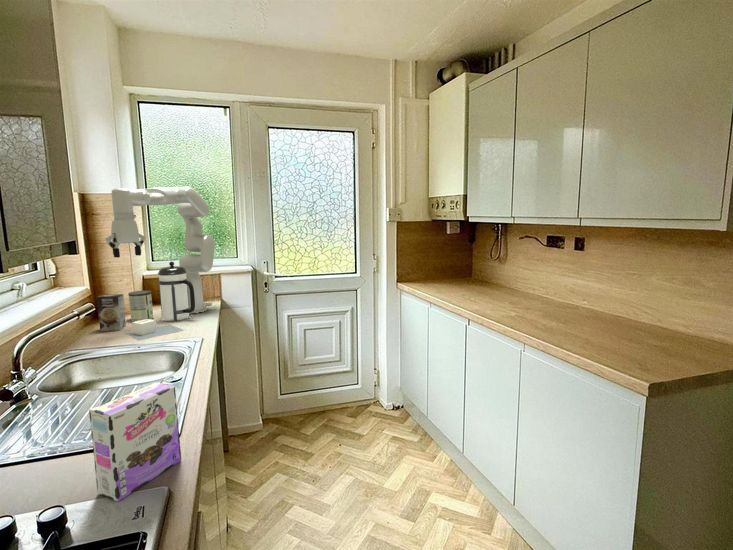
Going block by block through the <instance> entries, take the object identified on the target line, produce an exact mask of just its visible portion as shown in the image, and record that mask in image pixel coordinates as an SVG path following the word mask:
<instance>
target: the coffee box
mask: <svg viewBox="0 0 733 550" xmlns="http://www.w3.org/2000/svg"><path fill="white" fill-rule="evenodd" d="M124 297H125V296H124V293H120V294H118V293H116V294H113V293H111V294H101V295H98V296H97V297H96V301H97V313H98V314H97V315H98V321H99V323H98V324H99V331H100V332H107V331H108V332H109V330H112V331H122V330H123V329H125V328H127V321H126V311H125V310H126V309H125V300H124ZM124 327H125V328H124ZM121 329H122V330H121Z"/></svg>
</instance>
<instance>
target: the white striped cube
mask: <svg viewBox="0 0 733 550" xmlns="http://www.w3.org/2000/svg"><path fill="white" fill-rule="evenodd" d="M156 325H157V323H156V320H154V319H151V320H149V319H144V320H140V321H136V322H135V321H131V327H132V332H133V334H138V335H146V334H149V333H153V332H156V327H157V326H156Z"/></svg>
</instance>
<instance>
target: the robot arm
mask: <svg viewBox="0 0 733 550" xmlns="http://www.w3.org/2000/svg"><path fill="white" fill-rule="evenodd" d="M111 201H112V212H113V220H112V222H111V228H110V231H111V232H110V234H111V235H108V236H107V237H104V238H105V239H104V240H105V241H106V243H107V245H108V246H109V247H110V248H111V249H112V254H113V258H120V257H121V255H120V253H121V252H120V248H119V246H120V244H122V245H123V244H133V245H134V254H135V256H142V247H143V244H144V243H145V240H146V236H145V235H142V234H140V233H139V228H138V224H137V220H135V219H136V218H137V215H136V214H135V212H134V207H144V206H165V205H176V204H177V211H178V214H179V215H180V216H181V218H182V219H183V221H184V223H185V235H184V249H185V250H186V251H187V252H189V254H188V253H187V254H183V255H182V256H181V257H180V258H179V260H178V261H179V262H178V264H179V265H178V266H180V267H183V268H185V270H186V271H187V273H186V278H187V281H190V282H191V283H192V285H193V288H194V296H195V309H194V311H193V312H190V315H193V314H192V313H196V314H200V313H199V312H202V313H205V312H207V311H208V309H207V307H212V306H213V303H212V301H211V302H205V301H204V296H203V295H204V291H203V280H202V277H201V275H200V273H208V272H210V271H211V270H212V268H213V266H214V257H215V248H216V247H215V240H214V238H213V237H212V236H211V235H210V234H203V230H204V229H203V222H202V221H201V220H200V218H204V217H207V216H208V215H209V213H210V206H209V204H208V202H207V201H206V200H205V199H204V198H203V197H202V195H201V194H200V193H199V192H198V191H197V190H196V189H194V188H193V187H192V186H188V185H187V186H186V185H185V186H164V187H162V186H161V187H150V188H140V189H139V188H136V189H130V188H129V189H128V188H119V187H118V188H113V189H112V190H111ZM191 253H192V254H191ZM193 253H194V254H193ZM196 253H197V254H196ZM198 253H200V254H198ZM187 287H188V291H187V293H188V299H189V304H188V306H189V309H190V308H191V300H190V289H189V286H188V285H187ZM206 310H207V311H206ZM204 311H205V312H204Z"/></svg>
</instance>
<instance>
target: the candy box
mask: <svg viewBox="0 0 733 550" xmlns="http://www.w3.org/2000/svg"><path fill="white" fill-rule="evenodd" d="M176 396H177V395H176V386H175V385H170V384H167V383H166V384H165V383H161V382H156V381H155V382H153V383H152V384H149V385H148V386H145V387H142V388H139V389H137V390H136V391H132V392H130V393H127V394H125V395H123V396H121V397H118V398H116V399H113V400H111V401H110V400H109V402H106V403H104V404H100V405H99V406H96V407H92V408H90V409H89V410H88V412H89V413H88V414H89V421H90V430H91V431H90V432H91V441H92V450H93V451H92V452H93V460H94V470H95V480H96V490H97V492H96V493H97V494H99V495H101V496H104V497H106V498H108V499H109V500H112V501H114V502H120V501H121V500H123V499H124V498H126V497H127V496H130V495H131V493H133V492H135V491H137V490H139V489H140V488H141V487H143V486H144V485H147V483H149V482H150V481H152V480H153V479H155V478H157V477H159V476H161V474H163V473H164V472H166V471H168V470H169V469H171V468H173V467H174V465H176V464H178V463H180V462H182V452H181V440H180V432H179V431H180V430H179V429H180V428H179V418H178V417H179V416H178V404H177V397H176Z"/></svg>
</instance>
